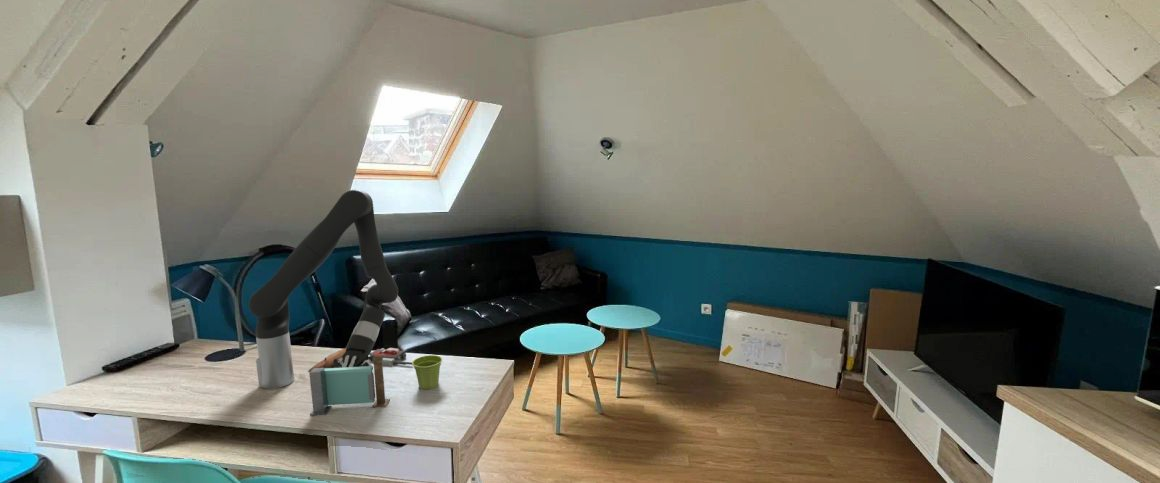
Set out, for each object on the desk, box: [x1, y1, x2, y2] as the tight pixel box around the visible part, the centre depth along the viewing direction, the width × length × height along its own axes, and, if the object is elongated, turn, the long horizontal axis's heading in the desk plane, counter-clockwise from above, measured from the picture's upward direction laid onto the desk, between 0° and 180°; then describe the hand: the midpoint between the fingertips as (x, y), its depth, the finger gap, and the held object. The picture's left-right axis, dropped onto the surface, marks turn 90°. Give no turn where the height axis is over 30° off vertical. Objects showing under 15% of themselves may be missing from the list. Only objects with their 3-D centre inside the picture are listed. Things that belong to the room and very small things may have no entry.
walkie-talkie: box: [368, 347, 413, 366], centre depth 178 cm, size 9×4×20 cm
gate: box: [325, 365, 376, 406], centre depth 143 cm, size 16×2×11 cm, turn 96°
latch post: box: [308, 368, 333, 417], centre depth 140 cm, size 4×4×13 cm
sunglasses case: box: [307, 347, 346, 373], centre depth 176 cm, size 18×7×7 cm
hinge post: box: [372, 355, 391, 409], centre depth 144 cm, size 4×4×16 cm
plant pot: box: [412, 354, 443, 390], centre depth 157 cm, size 9×9×9 cm
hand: (340, 391), depth 145 cm, fingers closed
